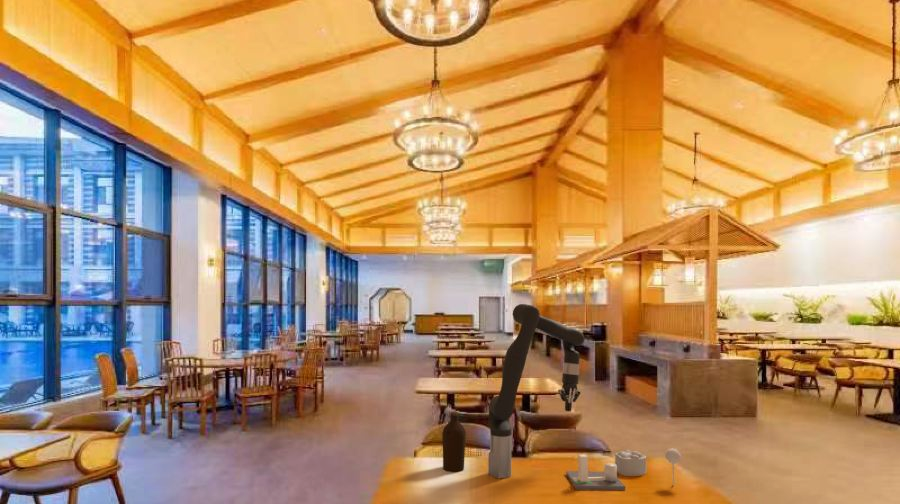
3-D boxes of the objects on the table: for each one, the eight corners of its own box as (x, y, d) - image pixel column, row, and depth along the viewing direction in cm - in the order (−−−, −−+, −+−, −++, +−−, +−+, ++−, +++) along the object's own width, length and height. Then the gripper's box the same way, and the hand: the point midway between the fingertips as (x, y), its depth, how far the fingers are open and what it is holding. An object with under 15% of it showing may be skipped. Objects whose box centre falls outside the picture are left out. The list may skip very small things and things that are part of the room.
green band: (589, 479, 224) (589, 478, 224) (592, 482, 220) (592, 482, 220) (572, 479, 223) (572, 479, 223) (576, 483, 219) (576, 482, 219)
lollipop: (680, 484, 224) (680, 447, 226) (682, 489, 219) (681, 451, 220) (665, 482, 226) (664, 446, 228) (665, 486, 221) (665, 449, 222)
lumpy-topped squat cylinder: (613, 468, 244) (613, 448, 245) (640, 468, 245) (640, 448, 246) (622, 476, 234) (622, 455, 234) (651, 475, 235) (650, 455, 235)
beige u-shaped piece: (613, 477, 226) (613, 453, 226) (619, 481, 221) (618, 456, 221) (571, 478, 223) (571, 454, 224) (576, 482, 218) (576, 457, 219)
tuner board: (576, 489, 216) (576, 485, 216) (566, 474, 234) (566, 470, 234) (625, 490, 216) (625, 486, 216) (611, 475, 234) (611, 471, 234)
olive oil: (465, 473, 234) (466, 414, 236) (441, 472, 234) (442, 414, 236) (465, 465, 244) (466, 409, 246) (442, 464, 245) (443, 409, 247)
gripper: (566, 373, 245) (563, 412, 242) (586, 375, 252) (583, 413, 249) (554, 371, 251) (551, 409, 248) (574, 373, 258) (572, 410, 255)
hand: (568, 411), depth 249 cm, fingers closed
